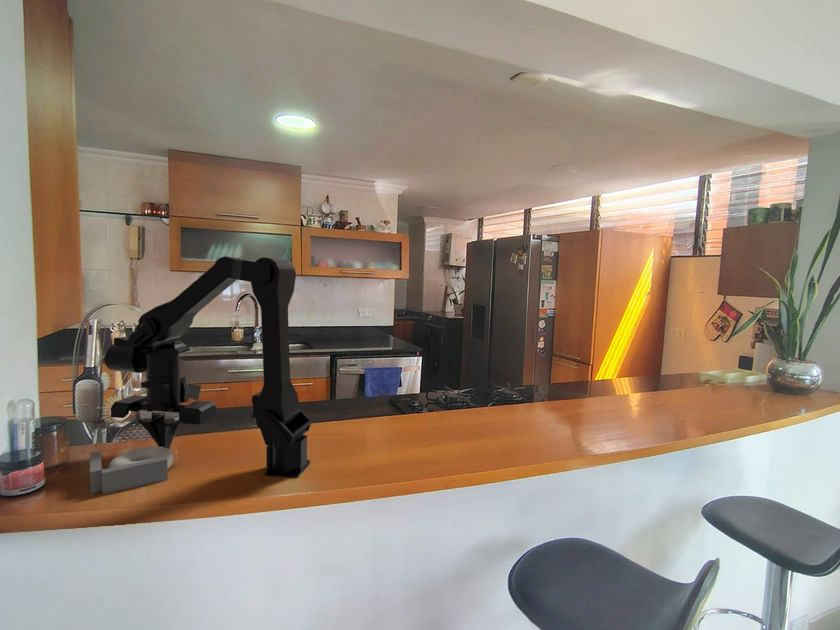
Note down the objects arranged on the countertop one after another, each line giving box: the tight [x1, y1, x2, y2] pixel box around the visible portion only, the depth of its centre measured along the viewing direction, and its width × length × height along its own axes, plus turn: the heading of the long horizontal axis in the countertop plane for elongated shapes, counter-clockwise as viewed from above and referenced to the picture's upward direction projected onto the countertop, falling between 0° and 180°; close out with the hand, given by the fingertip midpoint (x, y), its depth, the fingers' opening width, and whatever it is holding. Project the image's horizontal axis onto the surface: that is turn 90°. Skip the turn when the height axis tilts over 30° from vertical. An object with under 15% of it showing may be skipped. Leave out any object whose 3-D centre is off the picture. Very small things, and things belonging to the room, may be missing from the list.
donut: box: [107, 445, 175, 470], centre depth 74 cm, size 10×4×10 cm
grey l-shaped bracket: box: [89, 450, 169, 495], centre depth 69 cm, size 15×7×4 cm, turn 84°
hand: (165, 450), depth 81 cm, fingers closed
